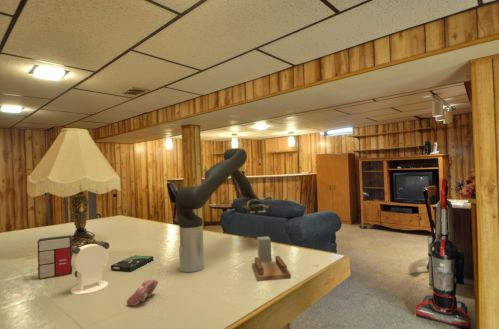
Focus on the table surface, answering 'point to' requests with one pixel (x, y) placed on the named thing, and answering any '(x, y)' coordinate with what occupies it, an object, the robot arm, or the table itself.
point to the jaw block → (264, 249)
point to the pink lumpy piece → (142, 292)
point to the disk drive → (131, 263)
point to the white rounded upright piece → (89, 267)
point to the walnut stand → (270, 270)
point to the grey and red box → (54, 256)
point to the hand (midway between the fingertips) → (258, 210)
